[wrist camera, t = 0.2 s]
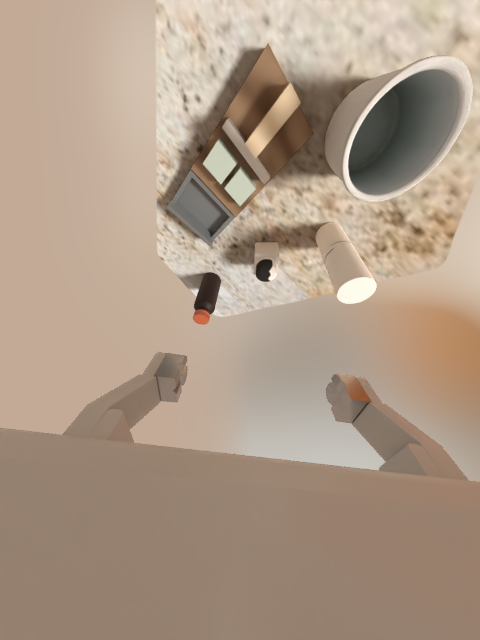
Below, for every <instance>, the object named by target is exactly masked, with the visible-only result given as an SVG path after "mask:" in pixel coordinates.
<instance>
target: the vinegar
mask: <svg viewBox="0 0 480 640" xmlns="http://www.w3.org/2000/svg"><path fill="white" fill-rule="evenodd" d="M220 284H221V280H220V277H219V276H218V275H217V274H214V273H207V274H205V275H204V277H203V280H202V283H201V286H200V289H199V292H198V295H197V298H196V301H195V304H194V308H195V310H196V311H195V313H194V316H193V320H194V321H195V322H196V323H198V324H207V323H208V321H209V318H210V314H212V313H213V312H214V310H215V305H216V301H217V297H218V292H219V288H220Z"/></svg>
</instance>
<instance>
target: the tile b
mask: <svg viewBox="0 0 480 640" xmlns="http://www.w3.org/2000/svg"><path fill="white" fill-rule="evenodd" d="M224 189H225V190H226V191H227V192H228V193H229V194H230V196H231V197H232V198H233V199H234V200H235V201H236V202H237V204H238V205H239V206H241V205H242V204H243V203H244V202H245V200H246V199H247V198H248V197H249V196H250V195H251V194H252V193H253V192H254V191H255V189H256V184H255V183H254V182H253V180H252V179H251V178H250V176H249V175H248V174H247V173H246V171H245V170H244V169H243V167H242V166H240V167H239V169H238V170H237V171H236V172H235V174H234V175H233V176H232V178H231V179H230V180H229V181H228V183H227V184H226V186H225V188H224Z"/></svg>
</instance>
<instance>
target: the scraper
mask: <svg viewBox="0 0 480 640" xmlns="http://www.w3.org/2000/svg"><path fill="white" fill-rule="evenodd" d="M300 104H301V102H300V100H299V98H298V96H297V94H296V92H295V90H294V88H293V86H292V84H291V82H290V83H289V84H288V85H287V86H286V88H285V89H284V90H283V92H282V93H281V94H280V96H279V97H278V98H277V100H276V101H275V102H274V104H273V105H272V107H271V108H270V109H269V111H268V112H267V113H266V115H265V116H264V117H263V119H262V120H261V121H260V123H259V124H258V126H257V127H256V128H255V130H254V131H253V132H252V134H251V135H250V136H249V138H248V139H247V140H245V138H244V137H243V135H242V134H241V133H240V131H239V130H238V128H237V127H236V125H235V124H234V123H233V121H232V120H231V118H228V119H227V120H226V122H225V123H224V125H223V126H222V128H223V130H224V131H225V132H226V134H227V135H228V136H229V138H230V139H231V141H232V142H233V143H234V145H235V146H236V147H237V149H238V150H239V151H240V153H241V154H242V155H243V157H244V158H245V159H246V161H247V162H248V164H249V165H250V166H251V168H252V169H253V170H254V172H255V173H256V174H257V176H258V177H259V178H260V180H261V181H262V182H263V184H264V185H265V184H266V182H267V181H268V180H269V179H270V175H269V173H268V171H267V170H266V168H265V167H264V165H263V164H262V163H261V161H260V160H259V158H258V157H257V156H258V155H259V154H260V153H261V151H262V150H263V149H264V148H265V146H266V145H267V144H268V143H269V142H270V140H271V139H272V138H273V137H274V135H275V134H276V133H277V132H278V131H279V129H280V128H281V127H282V126H283V124H284V123H285V122H286V121H287V119H288V118H289V117H290V116H291V115H292V113H293V112H294V111H295V110H296V108H297V107H298V106H299V105H300Z"/></svg>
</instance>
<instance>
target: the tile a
mask: <svg viewBox="0 0 480 640" xmlns="http://www.w3.org/2000/svg"><path fill="white" fill-rule="evenodd" d="M237 162H238V161H237V160H236V158H235V157H234V156H233V154H232V153H231V152H230V150H229V149H228V148H227V146H226V145H225V144H224V143H223V141H222V140H221V139H219V140H218V141H217V142H216V144H215V145H214V147H213V149H212V150H211V152H210V153H209V155H208V156H207V158H206V159H205V161H204V163H203V165H204V166H205V167H206V168H207V169H208V170H209V172H210V173H211V174H212V175H213V176H214V177H215V178H216V180H217V181H218V182H219V183H220V184H222V183H223V181H224V180H225V179H226V177H227V176H228V175H229V173H230V172H231V171H232V169H233V168H234V167H235V166H236V164H237Z"/></svg>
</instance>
